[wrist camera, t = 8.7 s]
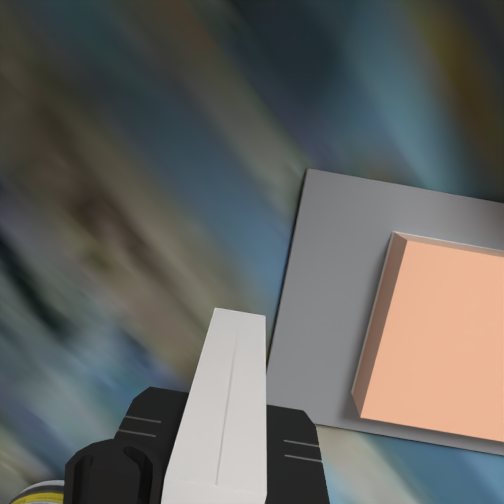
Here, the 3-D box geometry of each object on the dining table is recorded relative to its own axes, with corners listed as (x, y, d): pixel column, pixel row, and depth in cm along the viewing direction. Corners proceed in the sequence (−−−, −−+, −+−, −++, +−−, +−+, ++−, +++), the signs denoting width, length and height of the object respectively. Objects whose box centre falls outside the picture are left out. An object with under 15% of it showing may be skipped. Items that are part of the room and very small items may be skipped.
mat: (258, 408, 21) (258, 414, 21) (307, 167, 19) (308, 168, 18) (530, 454, 22) (536, 460, 21) (618, 223, 19) (627, 225, 18)
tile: (360, 417, 19) (583, 455, 19) (407, 240, 17) (654, 284, 17) (351, 392, 21) (553, 426, 21) (392, 230, 19) (614, 270, 19)
